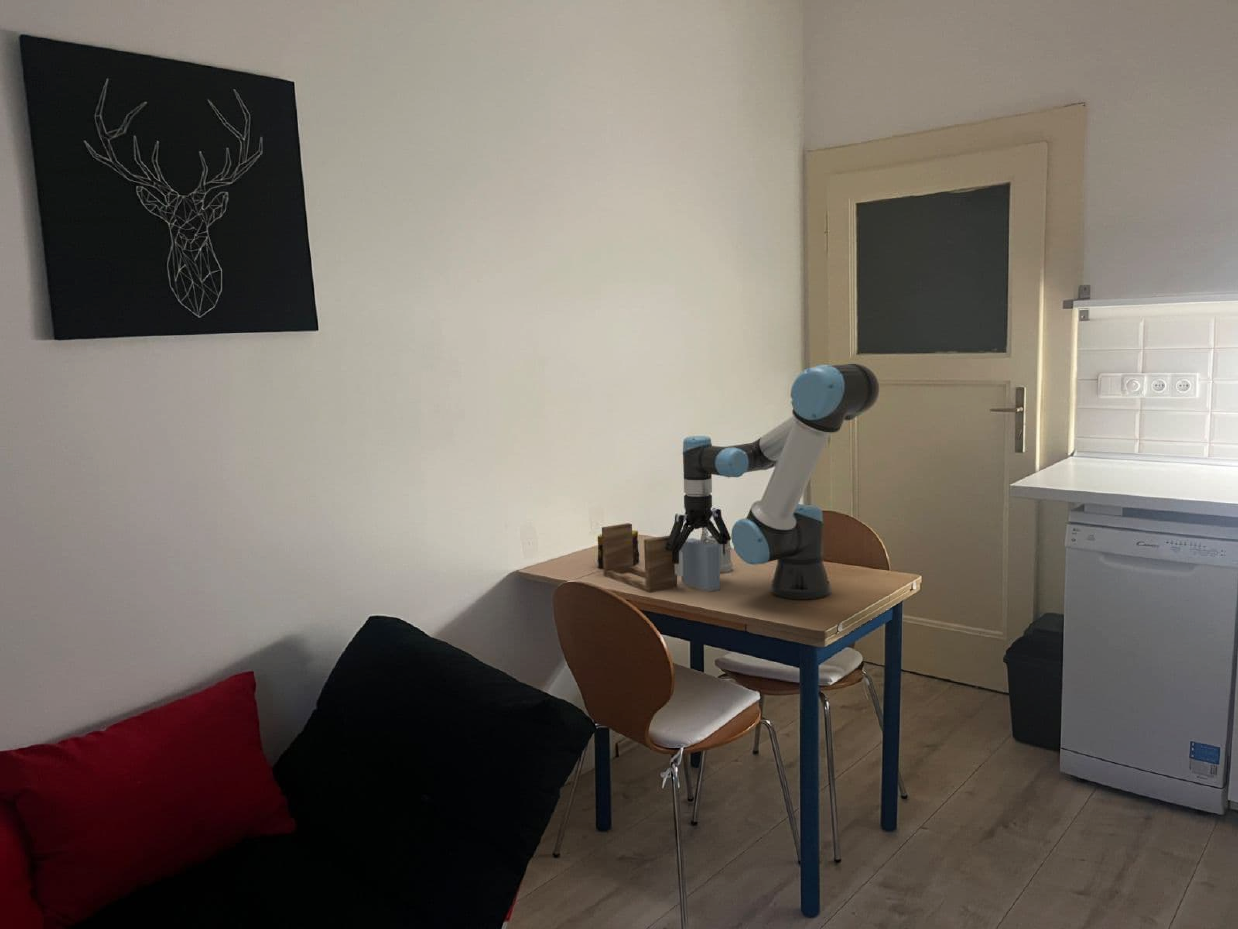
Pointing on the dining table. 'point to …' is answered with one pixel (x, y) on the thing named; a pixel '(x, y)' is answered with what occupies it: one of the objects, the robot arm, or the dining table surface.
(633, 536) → the dark brown pieces
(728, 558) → the mug
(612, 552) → the rack
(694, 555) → the pale blue book
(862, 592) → the dining table surface
